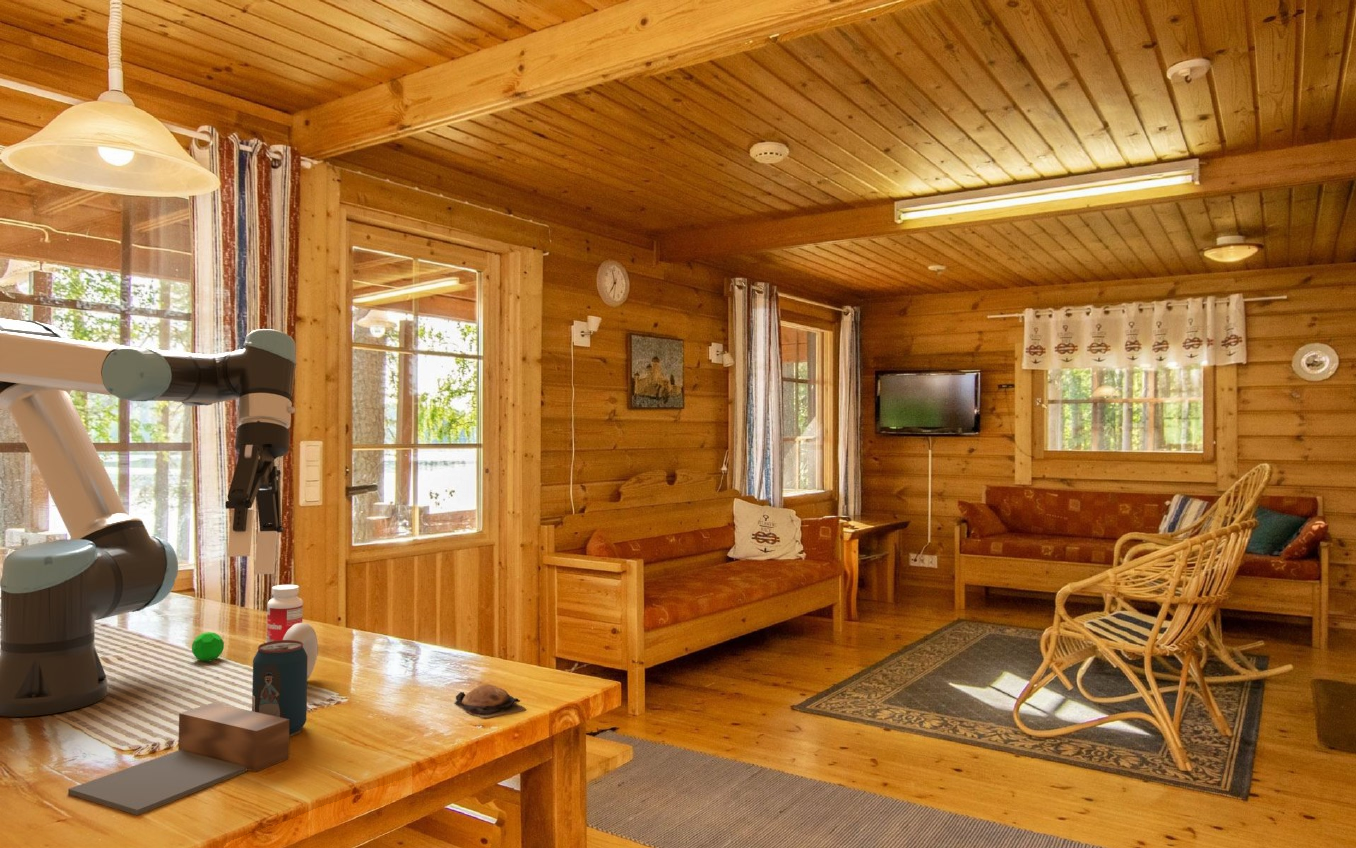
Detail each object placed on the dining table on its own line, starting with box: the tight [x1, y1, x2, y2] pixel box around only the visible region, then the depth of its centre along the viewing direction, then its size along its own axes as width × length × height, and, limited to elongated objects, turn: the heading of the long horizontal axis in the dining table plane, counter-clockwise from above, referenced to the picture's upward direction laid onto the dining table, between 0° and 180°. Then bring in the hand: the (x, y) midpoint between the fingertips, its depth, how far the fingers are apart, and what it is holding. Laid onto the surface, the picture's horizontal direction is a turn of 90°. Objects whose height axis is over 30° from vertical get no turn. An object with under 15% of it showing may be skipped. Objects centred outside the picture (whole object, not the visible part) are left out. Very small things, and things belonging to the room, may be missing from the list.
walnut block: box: [177, 702, 290, 773], centre depth 118 cm, size 14×5×5 cm, turn 65°
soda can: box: [251, 640, 308, 737], centre depth 127 cm, size 7×7×12 cm
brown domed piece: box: [453, 684, 527, 720], centre depth 140 cm, size 11×8×4 cm
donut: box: [283, 622, 319, 680], centre depth 149 cm, size 10×4×10 cm, turn 0°
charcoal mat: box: [67, 750, 247, 816], centre depth 109 cm, size 12×14×1 cm
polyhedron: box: [191, 631, 225, 662], centre depth 162 cm, size 5×5×5 cm
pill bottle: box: [266, 584, 304, 643], centre depth 173 cm, size 6×6×11 cm
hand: (252, 565), depth 134 cm, fingers open, 13 cm apart
